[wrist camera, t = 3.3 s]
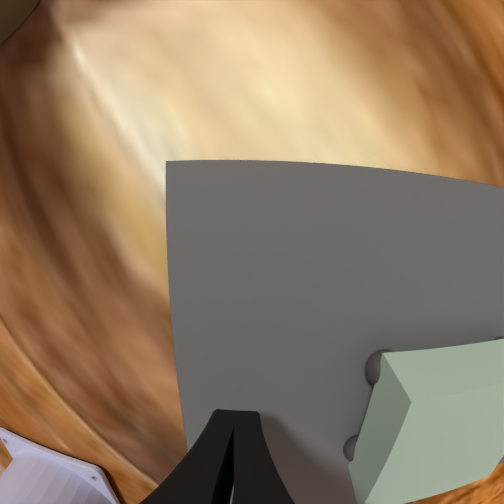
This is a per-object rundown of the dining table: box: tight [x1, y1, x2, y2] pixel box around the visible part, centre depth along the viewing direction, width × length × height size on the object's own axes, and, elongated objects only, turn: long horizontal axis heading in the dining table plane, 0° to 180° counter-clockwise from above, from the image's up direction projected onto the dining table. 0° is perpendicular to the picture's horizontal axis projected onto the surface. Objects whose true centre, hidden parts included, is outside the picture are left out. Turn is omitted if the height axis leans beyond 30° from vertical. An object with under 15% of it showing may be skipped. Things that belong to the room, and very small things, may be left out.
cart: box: [343, 336, 504, 504], centre depth 8 cm, size 6×7×3 cm
